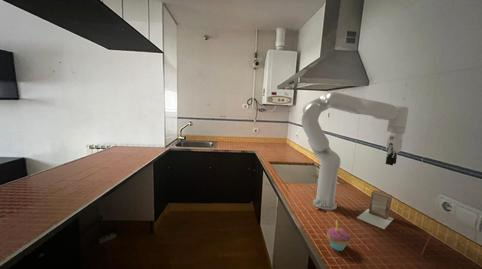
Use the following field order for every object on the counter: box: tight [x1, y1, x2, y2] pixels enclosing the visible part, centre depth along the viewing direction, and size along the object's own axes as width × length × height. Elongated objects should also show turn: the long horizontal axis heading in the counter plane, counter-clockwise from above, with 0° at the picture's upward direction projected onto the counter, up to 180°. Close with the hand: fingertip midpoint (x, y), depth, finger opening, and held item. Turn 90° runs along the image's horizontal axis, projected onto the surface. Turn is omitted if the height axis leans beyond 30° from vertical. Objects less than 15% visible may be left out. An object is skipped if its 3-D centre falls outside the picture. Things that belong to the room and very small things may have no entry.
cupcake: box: [326, 219, 351, 252], centre depth 80 cm, size 9×8×12 cm
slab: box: [368, 189, 393, 220], centre depth 106 cm, size 4×8×12 cm, turn 40°
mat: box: [356, 208, 395, 230], centre depth 104 cm, size 16×12×1 cm
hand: (390, 163), depth 108 cm, fingers open, 4 cm apart
